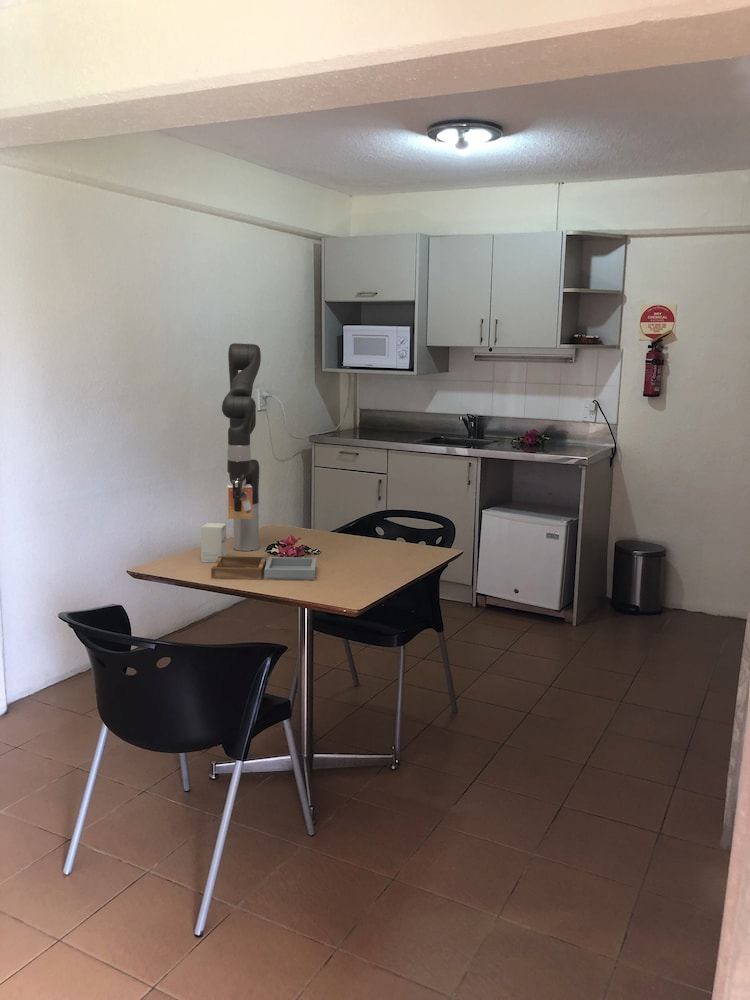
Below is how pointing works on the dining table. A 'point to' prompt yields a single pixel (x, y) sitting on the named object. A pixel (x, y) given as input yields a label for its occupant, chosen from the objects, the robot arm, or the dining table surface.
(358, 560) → the dining table surface
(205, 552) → the supplement box
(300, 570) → the tray
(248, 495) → the small box
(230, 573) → the frame
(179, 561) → the dining table surface
